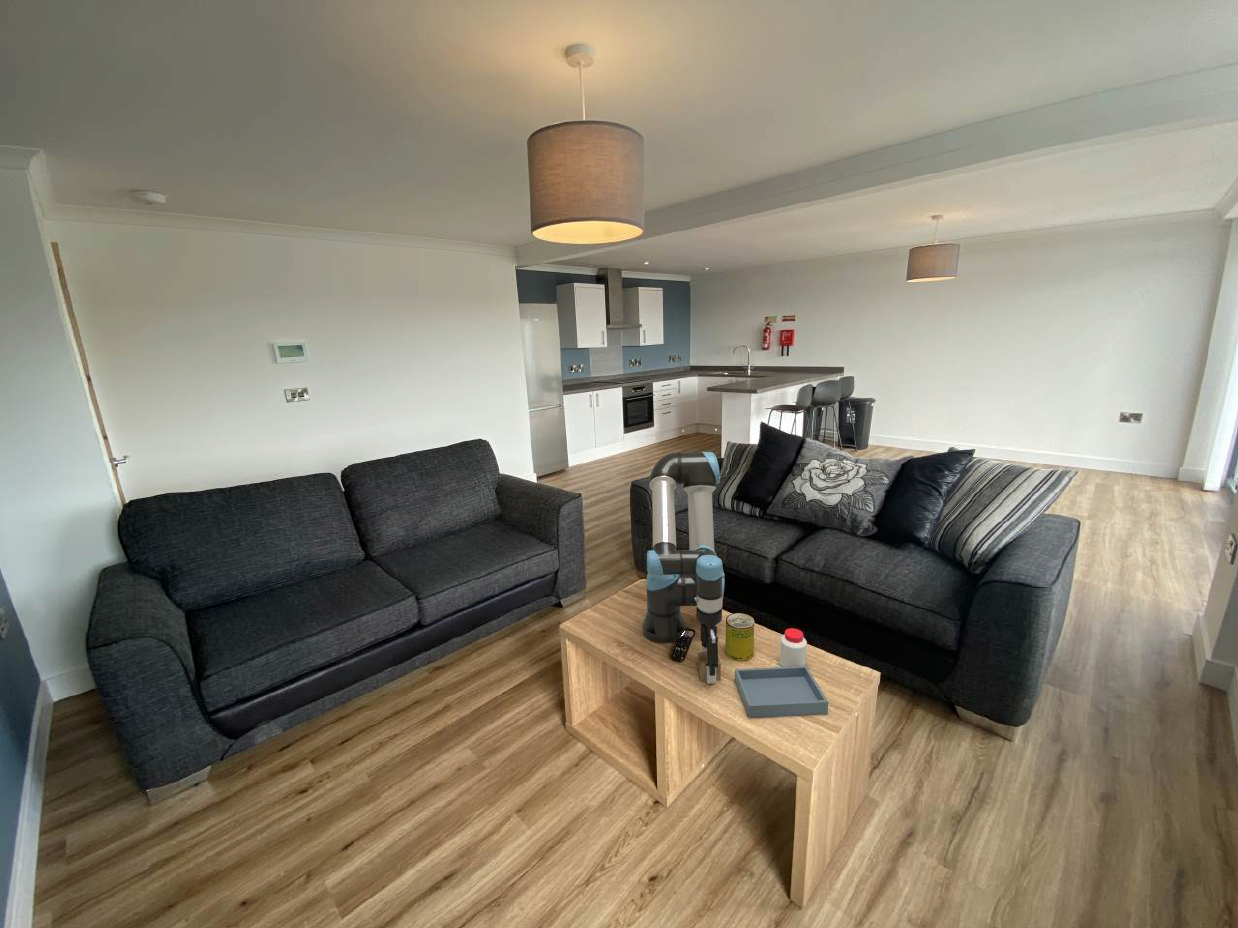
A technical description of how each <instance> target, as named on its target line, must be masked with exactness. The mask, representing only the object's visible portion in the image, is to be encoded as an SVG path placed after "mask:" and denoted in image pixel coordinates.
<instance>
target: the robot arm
mask: <svg viewBox="0 0 1238 928" xmlns="http://www.w3.org/2000/svg"><path fill="white" fill-rule="evenodd" d="M720 472H721V471H720V466H719V462H718V458H717V456H716V454H715V453H714V452H711V451H687V452H686V451H685V452H677V451H676V452H669V453H667V454H665V455H664V456H662V457H660V459H659V460H658V461H657V462H656V463H655V464H654V466H653V468H652V470H651V471H650V475H649V479H648V482H649V483H648V484H649V485H648V486H649V488H650V490H651V493H652V497H651V498H652V550H647V552H646V567H647V568H646V570H647V571H646V572H647V575H646V584H645V588H646V609H647V610H646V613H645V617H644V619H643V622H642V633H643V635H644V637H646V639H648V640H650V641H652V642H656V643H660V644H661V643H662V644H667V643H668V644H669V643H674V642H677V641H679V640H680V639H679V637H680V636H681V635H682V633H683V632H684V631H685V630H686V629H687V628H686V623H685V620H684V617H683V614H682V612H681V607H696V610H695V611H696V612H695V613H696V617H695V618H696V620H697V621H698V622H699V623H700V638H699V639H700V641H701V652H707V658H708V663H706V664H705V665H706V666H707V681H706V684H709V685H710V684H717V681H716V668H718V657H719V648H718V646H719V645H718V644H719V637H718V636H719V635H718V636H717V633H718V628H717V626H716V625H718V624H719V623H721V622H722V619H723V599H724V592H725V583H726V582H725V581H726V580H725V572H724V569H723V568H724V567H723V561H722V559H721V558H720V557H718V555H717V553H716V551H715V539H714V537H715V535H714V533H715V532H714V513H713V511H714V509H713V492H714V491H715V490H716V489H717V485H718V484H720V483H721V482H720V481H721V477H720V476H721V475H720ZM677 485H683V486H682V487H683V488H682V489H683V491H685V493H686V494H687V506H688V507H687V510H688V511H687V513H688V514H687V515H688V535H689V536H688V539H689V542H688V543H689V549H687V550H686V549H685V550H681V549H680V550H679V549H678V550H677V534H676V533H677V531H676V510H675V509H676V508H675V490H676V489H677ZM686 631H687V630H686ZM678 639H679V640H678Z"/></svg>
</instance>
